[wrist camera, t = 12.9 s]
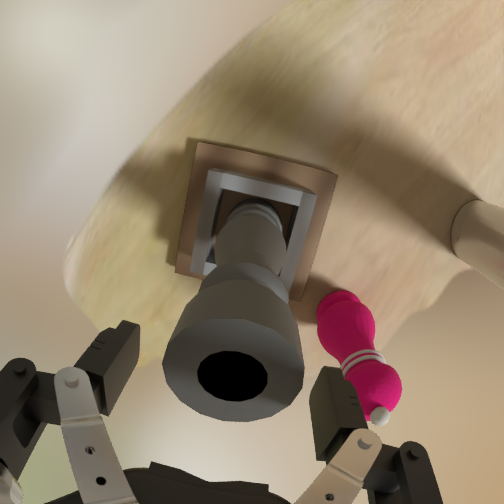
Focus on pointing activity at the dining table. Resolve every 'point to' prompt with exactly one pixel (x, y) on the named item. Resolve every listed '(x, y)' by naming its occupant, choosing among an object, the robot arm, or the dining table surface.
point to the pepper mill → (358, 353)
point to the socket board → (248, 187)
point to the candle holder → (239, 326)
